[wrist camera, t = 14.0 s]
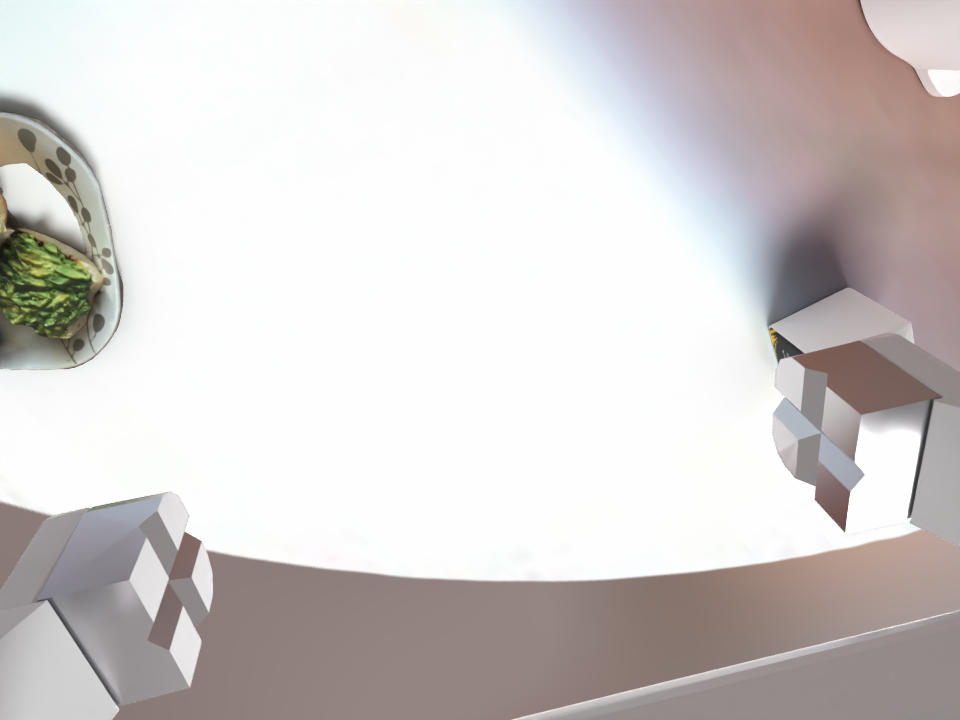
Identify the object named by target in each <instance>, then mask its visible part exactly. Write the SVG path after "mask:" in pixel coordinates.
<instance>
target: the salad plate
mask: <svg viewBox="0 0 960 720" xmlns="http://www.w3.org/2000/svg"><path fill="white" fill-rule="evenodd" d="M18 163H26V164H28V165H30V166H31V167H32V168H34V169H35V170H36V171H38V172H39V173H40V174H42V175H43V176H44V177H45V178H46V179H47V180H48V181H50V183H51V184H52V185H53V186H54V187H55V188H56V189H57V191H58V192H59V193H60V194H61V195H62V196H63V197H64V198H65V200H66V201H67V203H68V204H69V206H70V208H71V209H72V211H73V213H74V215H75V216H76V218H77V220H78V223H79V226H80V229H81V233H82V236H83V239H84V243H85V247H86V253H85V254H82V253H80V252H78V251H76V250H75V249H73V248H72V247H70V246H68V245H66V244H63V243H61V242H60V241H58V240H56V239H54V238H52V237H49V236H46V235H44V234H41V233H38V232H35V231H33V230H31V229H29V228H27V227H25V226H23V225H21V224H19V223H18V222H17V221H16V220H15V218H14V217H13V215H12V214H11V213H10V212H9V210H8V209H7V204H6V200H5V199H4V197H3V196H2V195H1V194H2V193H3V191H2V189H1V188H0V369H11V370H21V369H28V370H51V369H70V368H75V367H77V366H80V365H82V364H84V363H86V362H88V361H90V360H91V359H93V358H94V357H95V356H96V355H97V354H98V353H99V352H100V351H101V350H102V349H103V348H104V347H105V346H106V345H107V344H108V342H109V341H110V339H111V338H112V336H113V335H114V333H115V332H116V330H117V328H118V325H119V322H120V318H121V312H122V307H123V283H122V280H121V276H120V274H119V271H118V269H117V264H116V259H115V253H114V247H113V240H112V233H111V226H110V222H109V219H108V215H107V210H106V207H105V204H104V200H103V197H102V192H101V188H100V184H99V180H98V179H97V177H96V176H95V174H94V173H93V171H92V169H91V168H90V167H89V165H88V164H87V163H86V161H85V160H84V159H83V157H82V156H81V154H80V152H79V151H78V150H77V149H75V148H74V147H73V146H72V145H71V144H70V143H68V142H67V141H66V140H65V139H64V138H63V137H62V136H60V135H59V134H57V133H56V132H55V131H54V130H53V129H51V128H50V127H49V126H48V125H47V124H46V123H44V122H42V121H41V120H39V119H35V118H32V117H28V116H25V115H21V114H16V113H7V112H0V167H2V166H4V165H8V164H18Z"/></svg>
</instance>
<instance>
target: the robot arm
mask: <svg viewBox="0 0 960 720" xmlns="http://www.w3.org/2000/svg"><path fill="white" fill-rule="evenodd" d="M860 1H861V5H862V9H863V12H864V15H865V18H866V21H867V23H868V25H869V27H870V29H871V30H872V32H873V34H874V35H875V37H876V38H877V39H878V41H879V42H880V43H881V44H882V45H883V46H884V47H885V48H886V49H888V50H889V51H890V52H892V53H893V54H894V55H896V56H898V57H900V58H901V59H903V60H905V61H906V62H908V63H909V64H910V65H912V66H913V67H914V68H915V70H916V72H917V74H918V76H919V78H920V80H921V82H922V84H923V86H924V87H925V89H926V90H927V91H928V92H929V93H930V94H931V95H932V96H935V97H950V96H953V95H956V94H958V93H960V0H860ZM775 387H776V389H777V390H778V391H779V392H780V393H781V394H782V395H783V396H784V399H783V400H782V402H781V403H780V405H779V406H778V407H777V409H776V410H775V412H774V413H773V437H774V441H775V445H776V448H777V452H778V454H779V456H780V458H781V460H782V462H783V463H784V465H785V467H786V468H787V469H788V470H789V471H790V472H791V474H792V475H793V476H794V477H795V478H796V479H799V480H801V481H804V482H806V483H809V484H812V485H814V486H816V491H815V500H816V502H817V503H818V504H819V505H820V506H821V507H822V508H823V509H824V510H825V511H826V512H827V514H828V515H829V516H830V517H831V518H832V519H833V520H834V521H835V522H836V523H837V524H838V526H839V527H840V528H841V529H842V530H843V531H844V532H845V533H849V532H854V531H859V530H864V529H869V528H874V527H878V526H883V525H888V524H893V523H898V522H903V521H907V520H910V523H911V524H913V525H915V526H917V527H919V528H921V529H923V530H925V531H927V532H929V533H931V534H933V535H935V536H937V537H939V538H942V539H944V540H946V541H948V542H950V543H952V544H954V545H956V546H958V547H960V372H959V371H957V370H955V369H954V368H952V367H951V366H949V365H947V364H946V363H944V362H942V361H941V360H939V359H938V358H936V357H934V356H933V355H931V354H930V353H928V352H926V351H925V350H923V349H921V348H920V347H918V346H917V345H915V344H913V343H912V342H910V341H909V340H907V339H905V338H904V337H902V336H900V335H898V334H892V333H884V334H880V335H876V336H872V337H868V338H864V339H861V340H857V341H853V342H851V343H847V344H843V345H839V346H834V347H830V348H826V349H822V350H818V351H813V352H809V353H805V354H801V355H797V356H792V357H788V358H784V359H780V362H779V364H778V366H777V369H776V375H775ZM188 518H189V514H188V512H187V510H186V508H185V507H184V505H183V503H182V501H181V499H180V497H179V496H178V495H176V494H174V493H172V492H166V493H161V494H156V495H151V496H146V497H141V498H136V499H131V500H126V501H120V502H115V503H110V504H105V505H100V506H95V507H93V508H85V509H80V510H76V511H71V512H67V513H63V514H58V515H54V516H52V517H50V518H48V519H46V520H44V521H43V522H42V524H41V526H40V528H39V529H38V531H37V532H36V534H35V536H34V537H33V539H32V540H31V542H30V544H29V545H28V547H27V548H26V550H25V552H24V553H23V555H22V557H21V558H20V560H19V561H18V563H17V565H16V566H15V568H14V570H13V571H12V573H11V574H10V576H9V578H8V579H7V581H6V583H5V584H4V586H3V587H2V589H1V590H0V720H112V719H113V718H114V716H115V715H116V714H117V713H118V711H119V708H118V707H119V706H123V705H126V704H130V703H134V702H138V701H141V700H145V699H149V698H153V697H156V696H160V695H164V694H168V693H171V692H176V691H179V690H183V689H187V688H190V686H191V682H192V678H193V674H194V670H195V666H196V662H197V658H198V654H199V651H200V646H201V642H202V641H201V639H200V637H199V635H198V633H197V632H196V630H195V627H196V626H197V625H198V624H199V623H200V622H201V621H202V620H203V619H204V618H205V617H206V616H207V614H208V613H209V610H210V606H211V601H212V597H213V576H212V569H211V565H210V561H209V557H208V555H207V552H206V550H205V548H204V546H203V543H202V541H200V540H198V539H196V538H195V537H193V536H191V535H189V534H188V533H186V532H184V531H185V528H186V525H187V522H188ZM512 720H960V610H958V611H954V612H950V613H946V614H942V615H937V616H933V617H929V618H925V619H921V620H917V621H913V622H909V623H905V624H901V625H896V626H892V627H889V628H884V629H880V630H876V631H872V632H868V633H864V634H859V635H855V636H851V637H847V638H843V639H839V640H835V641H831V642H827V643H823V644H819V645H814V646H810V647H806V648H802V649H798V650H794V651H790V652H786V653H782V654H777V655H773V656H770V657H765V658H761V659H757V660H753V661H749V662H745V663H740V664H736V665H732V666H728V667H724V668H720V669H716V670H712V671H708V672H704V673H700V674H696V675H692V676H688V677H683V678H679V679H675V680H671V681H667V682H663V683H659V684H655V685H651V686H647V687H642V688H638V689H635V690H630V691H626V692H622V693H618V694H614V695H610V696H606V697H602V698H598V699H594V700H590V701H586V702H581V703H577V704H573V705H569V706H565V707H561V708H557V709H553V710H549V711H545V712H541V713H537V714H532V715H528V716H524V717H521V718H516V719H512Z"/></svg>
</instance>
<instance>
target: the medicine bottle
mask: <svg viewBox="0 0 960 720" xmlns="http://www.w3.org/2000/svg"><path fill="white" fill-rule="evenodd" d="M769 333H770V337H771V340H772V344H773V347H774V350H775V354H776V357H777V361H778V364H779V362H780V359H784V358H788V357H792V356H797V355H801V354H805V353H809V352H813V351H818V350H822V349H826V348H830V347H834V346H839V345H843V344H847V343H851V342H853V341H857V340H861V339H864V338H868V337H872V336H876V335H880V334H884V333H892V334H898V335H900V336H902V337H904V338H905V339H907V340H909V341H910V342H912V343H913V344H914V337H913V331H912V325H911V323H910V322H909V321H908V320H906V319H904V318H903V317H901V316H899V315H897V314H896V313H894V312H892V311H890V310H889V309H887V308H885V307H883V306H882V305H880V304H878V303H876V302H875V301H873V300H871V299H870V298H868V297H866V296H864V295H863V294H861V293H859V292H857V291H856V290H854V289H852V288H849V287H848V288H845V289H843V290H841V291H839V292H837V293H835V294H833V295H831V296H829V297H827V298H825V299H823V300H820V301H818V302H816V303H814V304H812V305H810V306H808V307H806V308H804V309H802V310H800V311H798V312H796V313H794V314H792V315H790V316H788V317H786V318H784V319H782V320H780V321H778V322H776V323H774V324H772V325H770V326H769Z"/></svg>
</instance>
